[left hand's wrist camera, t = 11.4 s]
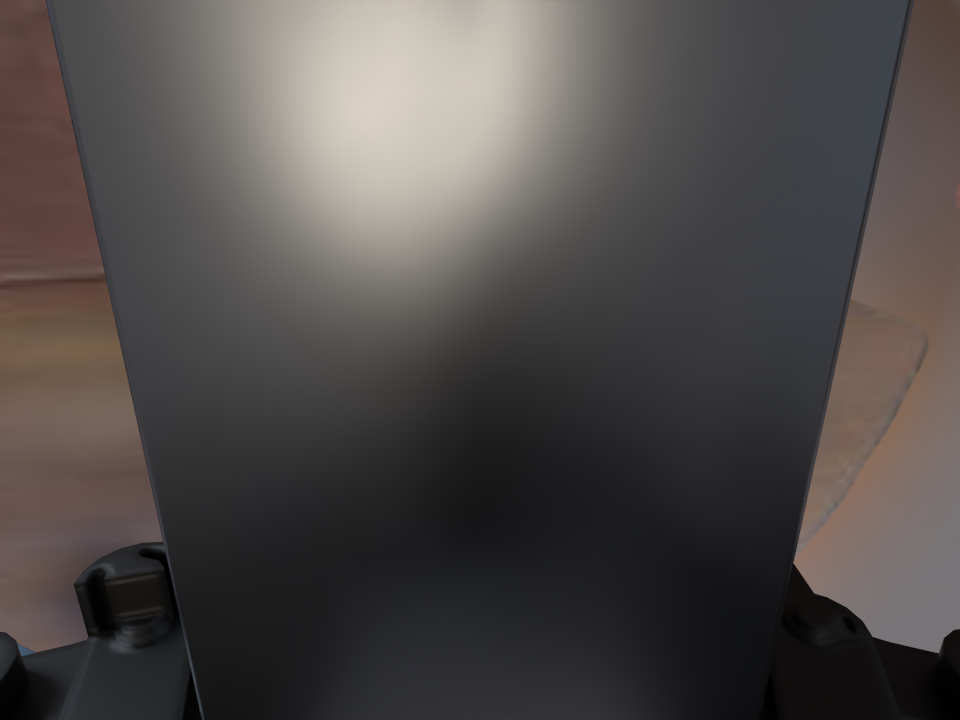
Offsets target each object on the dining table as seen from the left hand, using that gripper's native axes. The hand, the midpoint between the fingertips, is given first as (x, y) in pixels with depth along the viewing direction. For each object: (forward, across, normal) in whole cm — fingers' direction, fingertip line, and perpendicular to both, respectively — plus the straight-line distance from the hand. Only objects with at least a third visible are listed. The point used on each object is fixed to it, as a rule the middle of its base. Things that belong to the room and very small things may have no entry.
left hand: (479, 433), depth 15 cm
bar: (+1, 0, -8) cm, 8 cm away
